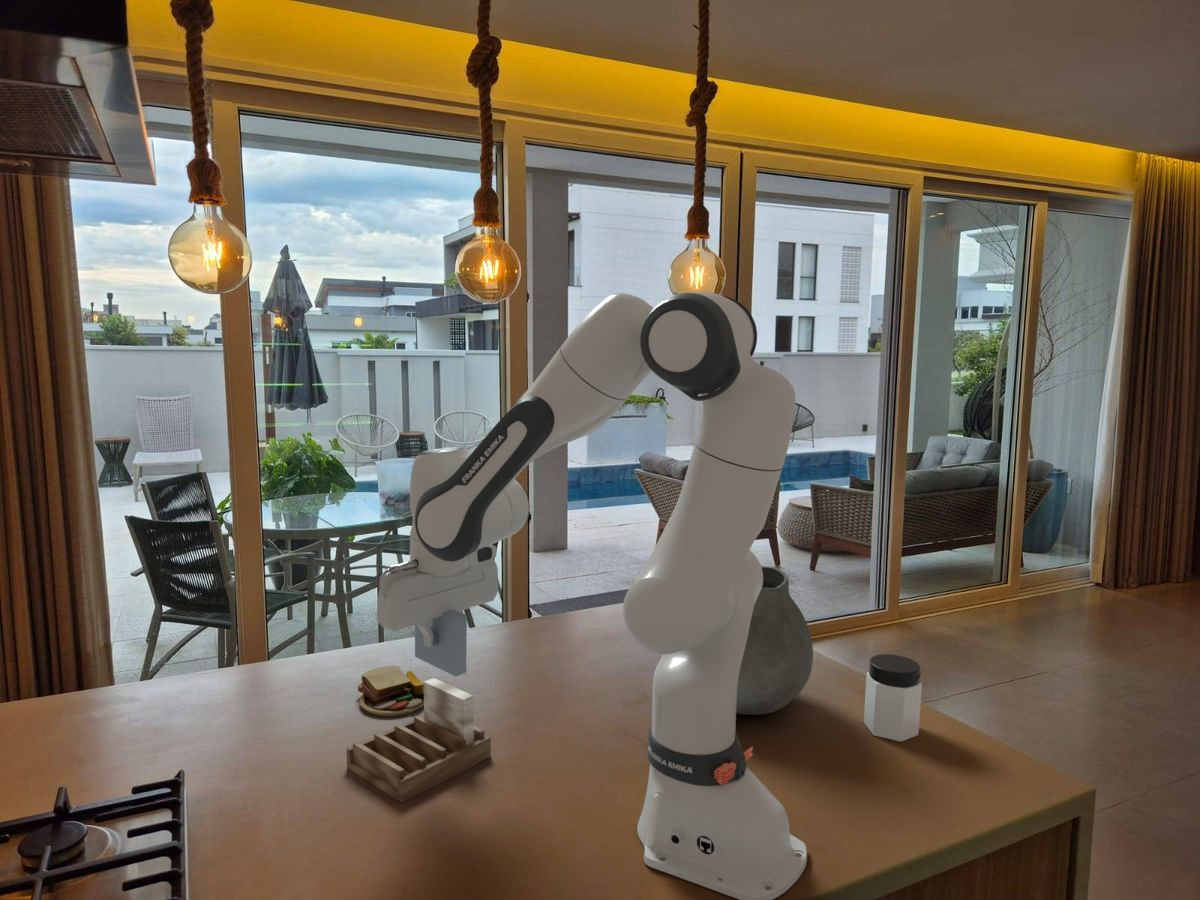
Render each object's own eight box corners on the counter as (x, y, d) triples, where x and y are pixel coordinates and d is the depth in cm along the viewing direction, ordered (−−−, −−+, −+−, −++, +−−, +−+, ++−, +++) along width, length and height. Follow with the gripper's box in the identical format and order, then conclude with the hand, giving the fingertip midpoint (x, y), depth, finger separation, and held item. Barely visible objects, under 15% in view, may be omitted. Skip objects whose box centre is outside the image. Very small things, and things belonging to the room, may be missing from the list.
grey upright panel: (466, 672, 117) (466, 614, 116) (455, 676, 116) (455, 618, 114) (425, 653, 124) (425, 598, 122) (415, 656, 122) (414, 601, 121)
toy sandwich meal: (371, 725, 135) (370, 699, 134) (349, 696, 146) (349, 672, 146) (440, 708, 142) (440, 683, 141) (414, 681, 153) (414, 657, 152)
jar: (925, 742, 131) (930, 674, 129) (877, 742, 131) (881, 674, 129) (903, 717, 140) (907, 652, 138) (858, 717, 140) (861, 652, 138)
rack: (490, 756, 125) (490, 695, 124) (401, 802, 112) (400, 735, 111) (435, 727, 134) (434, 671, 133) (347, 768, 121) (344, 705, 120)
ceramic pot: (699, 668, 160) (702, 549, 157) (821, 691, 150) (827, 564, 146) (656, 719, 138) (659, 582, 135) (795, 751, 128) (802, 603, 124)
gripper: (393, 573, 107) (393, 668, 109) (504, 546, 123) (503, 630, 125) (367, 563, 111) (368, 655, 113) (478, 538, 127) (477, 619, 129)
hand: (440, 642), depth 119 cm, fingers closed on grey upright panel, 2 cm apart
